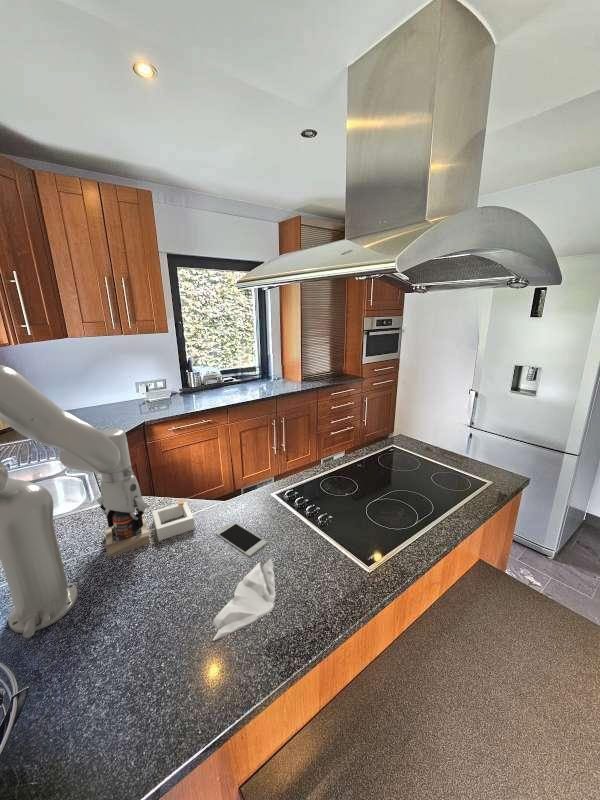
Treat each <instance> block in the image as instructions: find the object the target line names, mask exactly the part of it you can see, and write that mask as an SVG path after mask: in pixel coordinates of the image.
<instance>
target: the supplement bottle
mask: <svg viewBox="0 0 600 800" xmlns="http://www.w3.org/2000/svg"><path fill="white" fill-rule="evenodd" d="M115 512H116V513H115V514H114V516H113V524H114V530H115V540H116V542H118V541H122V540H125V539H128V538H131V537H134V536H138V535H140V534H139V530H138V531H137V532H134V530H133V524H132V520H133V517H132V516H131V515H130V513H127V512H120V511H115ZM134 512H135V514H137V513H136V510H134Z"/></svg>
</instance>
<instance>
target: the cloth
mask: <svg viewBox="0 0 600 800" xmlns="http://www.w3.org/2000/svg"><path fill="white" fill-rule="evenodd" d="M273 560H274V557H273V556H271V557H269V559H267V560H266V562H265V563H264V564H263V565H262V564H261V562H258V563H257V564H256V565H255V566H254V567H253V568H252V569H251V570H250V571H249V572H248V573H247V574H246V575H245V576H243V578H242V580H241V581H240V582H238V584H237V586H236V588H235V590H234V594H233V596H234V597H232V598H231V599H230V600H229V601H228V603H226V605H224V607H223V608H222V609H221V610H220V611H219V612H218V613H217V615H216V616H215V617H214V619H213V624H214V625H215V626H216V628H217V629H218V630H217V633H216V634H215V635H214V638H213V639H212V641H214V642H215V641H216V640H219V639H221V638H223V637H226V636H228V635H230V634H232V633H235V632H236V631H238V630H241V629H242V628H244V627H246V626H248V625H250V624H252V623H254V622H256V621H258V619H259V618H261V617H264V616H265V615H268V614H269V613H271V611H273V609H274V608H275V604H274V603H275V601H276V594H277V593H276V588H275V587H276V582H275V578H276V577H275V572H274V561H273Z"/></svg>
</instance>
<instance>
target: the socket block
mask: <svg viewBox="0 0 600 800" xmlns="http://www.w3.org/2000/svg"><path fill="white" fill-rule="evenodd" d="M151 512H152V513H151V514H152V519H153V525H154V528H155V534H156V536H157V537H156V538H157V540H158V542H160V541H163V540H166V539H169V538H172V537H175V536H177V535H181V534H184V533H187V532H190V531H193V530H196V526H195V518H194V516H193V514H192V511H191V509H190V507H189V505H188V503H187V501H184V500H181V501H178V502H177V503H175V504H172V505H168V506H165V507H161V508H158V509H154V510H152V511H151ZM182 515H183V516H182ZM179 516H180V517H183V518H180V517H179ZM176 517H177V518H180V519H177V518H176ZM184 517H185V518H184ZM173 518H174V519H177V520H173ZM169 519H170V520H173V521H170V520H169ZM166 520H167V521H170V522H167V521H166ZM163 521H164V522H166V523H164V522H163ZM162 523H164V524H162Z"/></svg>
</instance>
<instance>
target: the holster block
mask: <svg viewBox="0 0 600 800" xmlns="http://www.w3.org/2000/svg"><path fill="white" fill-rule="evenodd" d="M142 520H143V526H142V527H141V528H140V529H139V530H140V532H141V534H139V535H138V536H134V537H131V538H128V539H125V540H122V541H118V542H117V541H116V542H114V538H116V536H115V530H114V525H113V526H112V527H109V526H106V527H105V545H106V546H105V547H106V548H105V549H106V553H107V554H106V555H107V558H112V557H115V556H117V555H118V556H119V555H120V554H124V553H126V552H130V551H133V550H136V549H138V548H139V549H140V548H141V547H145V546H147V545H151V544H150V537H149V532H148V526H147V523H146V518H145V515H144V516H143V515H142Z"/></svg>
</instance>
